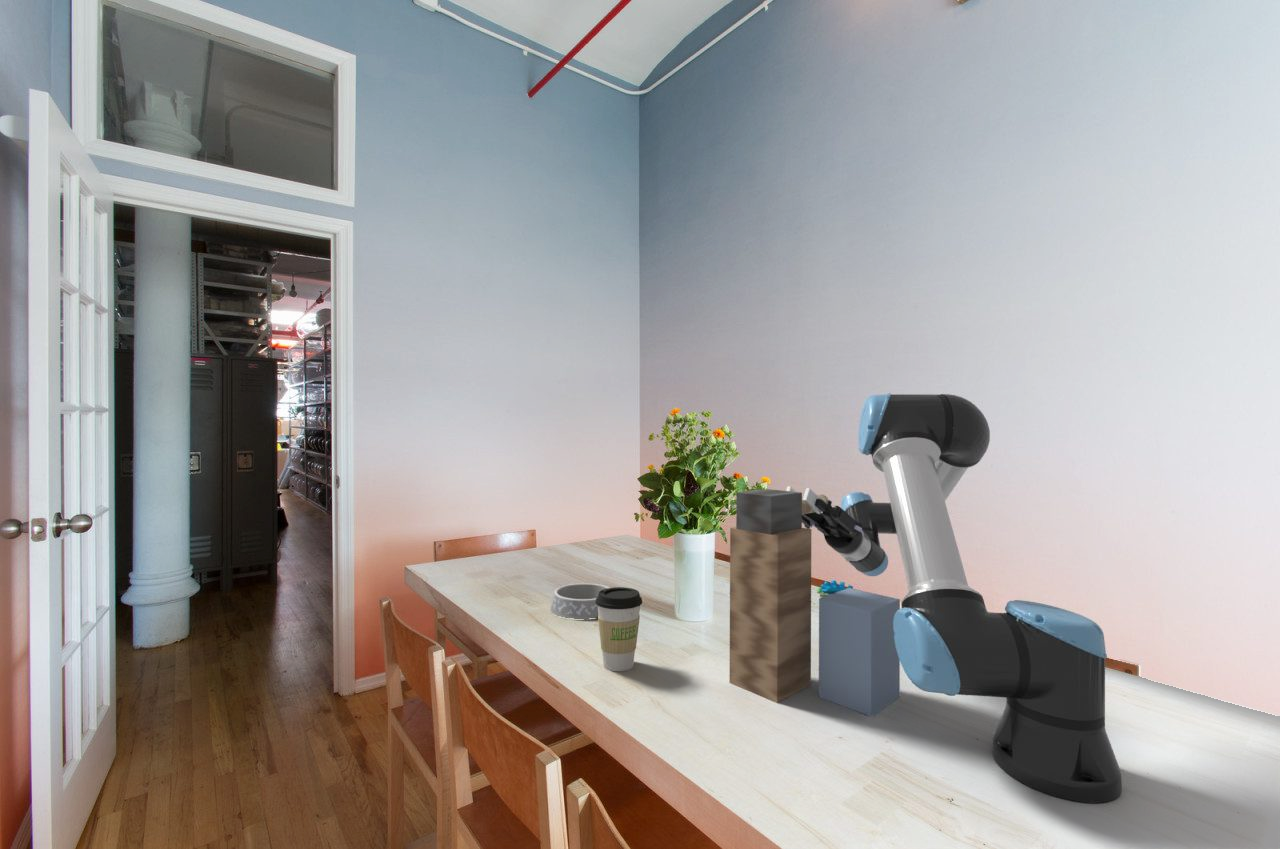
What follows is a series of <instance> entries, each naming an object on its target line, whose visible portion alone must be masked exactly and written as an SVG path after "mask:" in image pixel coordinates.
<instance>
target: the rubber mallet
mask: <svg viewBox="0 0 1280 849" xmlns="http://www.w3.org/2000/svg"><path fill="white" fill-rule="evenodd" d="M816 495H817V496H818V497H819V498H820V499H822V500H823V501H824V502H825V503H826V500H829V498H828V496H827V495H825V494H816ZM803 497H804V496H803V492H799V491H796V492H791V491H786V490H778V489H771V488H768V489H767V488H766V489H757V490H756V489H755V490H748V491H746V490H745V491H739V492H736V507H735V508H736V511H735V512H736V517H735V518H736V521H735V522H736V526H735V527H736V529H740V530H746V531H752V532H758V533H764V534H770V535H772V534H777V533H782V532H787V531H793V530H798V529H802V528H803V523H802V514H808V513H814V512H815V511H814V510H813V509H812V508H811V507H810V506H809V505H807V504H806V503H805V502H804V501H803Z"/></svg>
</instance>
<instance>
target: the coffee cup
mask: <svg viewBox="0 0 1280 849" xmlns="http://www.w3.org/2000/svg"><path fill="white" fill-rule="evenodd" d="M595 603H596V605H598V615H597V622H598V629H599V631H598V632H599V639H600V640H599V641H600V649H601V652H602V662H603V664H602V665H603V667H604V669H606V670H608V671H611V672H612V671H613V672H625V671H628V670H630V669H632V668H633V667H634V662H635V655H636V649H637V644H638V634H639V627H640V626H639V625H640V610H641V605H643V598H642V596H641V594H640V592H639V591H638V590H637V589H634V588H632V587H621V586H618V587H617V586H616V587H615V586H614V587H609V588H607V589H603V590H601V591H599V594H598V597H597V598H596V601H595Z"/></svg>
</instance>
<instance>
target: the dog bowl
mask: <svg viewBox="0 0 1280 849" xmlns="http://www.w3.org/2000/svg"><path fill="white" fill-rule="evenodd" d="M607 588H610V587H609V586H607V585H604V584H600V583H588V582H587V583H586V582H583V583H570V584H566V585H562V586H560V587H558V588H556V589H555V590H554V591H553V595H552V601H551V605H550V607H549V611H550V610H551V612H552V613H553V614H555V615H557V616H561V617H565V618H574V619H589V618H596V619H598V615H599V614H598V605H596V603H595V601H596V598H597V597H598V594H599V591H601V590H603V589H607Z"/></svg>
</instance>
